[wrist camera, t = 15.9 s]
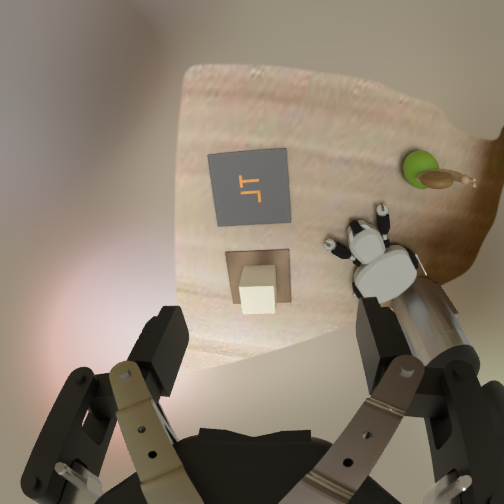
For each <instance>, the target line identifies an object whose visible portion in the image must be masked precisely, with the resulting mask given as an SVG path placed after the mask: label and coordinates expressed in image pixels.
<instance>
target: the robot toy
mask: <svg viewBox="0 0 504 504" xmlns="http://www.w3.org/2000/svg"><path fill="white" fill-rule="evenodd" d="M382 205H383V209H382V210H381V205H378V206H377V210H376V212H377V213H378V215H377V223H378V229H379V230H380V232H381V233H382V237H381V235H380V233H379V231H378V230H377V228H376V227H375V226H373V225H372V224H368V223H367V222H366V221H364V220H363V219H362V220H358V222H359V223H358V222H357V220H353V221H352V222H351V223H350V226H349V227H348V229H347V234H348V240H347V241H348V245H349V248H350V251H351V252H352V253H353V255H352V254H351V252H350V251H349V249H348V248H347V247H346V246H344V245H342V244H341V243H339V242H336V243H335V241H334V240H333V239H327V240H326V242H327V243H329V245H328V244H326V243H324V248H325V249H326V250H331V253H332V254H334V255H336V256H338V257H339V258H341V259H351V260H353V263H354V264H355V265H357V266H358V267H357V269H356V271H355V273H354V282H353V283H352V285H353V291H354V292H353V295H354V297H356V299H357V301H358V302H359V300H358V299H359V298H364V297H375V296H376V297H377V299H378V301H379V304H381V303H384V302H387V301H389V300H391V299H393V298H396V297H398V296H399V295H400V294H401V293H403V292H404V291H405V290H406V289H408V288H409V287H410V286H411V285H412V283H413V282H414V280H415V279H416V277H417V269H418V261H419V263H420V265H421V267H422V269H423V271H424V273H425V275H426V276H427V273H426V271H425V270H424V268H423V266H422V264H421V262H420V260H419V258H418V255H417V254H416V253H415V254H414V253H413V252H412V251H411V250H410V249H408V248H406V249H405V248H403V247H402V246H400V245H392V246H390V241H389V239H388V238H387V233H388V231H389V229H390V220H389V215H388V214H387V212H388V207H387V205H385V204H382ZM359 224H360V225H359ZM350 227H351V228H352V230H353V231H352V230H351V228H350ZM417 259H418V260H417Z"/></svg>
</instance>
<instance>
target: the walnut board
mask: <svg viewBox="0 0 504 504" xmlns="http://www.w3.org/2000/svg"><path fill="white" fill-rule="evenodd" d="M225 255H226V262H227V268H228V274H229V281H230V287H231V293H232V299H233V304H241V299H240V292H239V284H240V279H241V275H242V271H243V267H244V266H255V265H275V271H276V285H277V298H276V303H285V302H291V287H290V262H289V249H282V250H258V251H235V252H225Z"/></svg>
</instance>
